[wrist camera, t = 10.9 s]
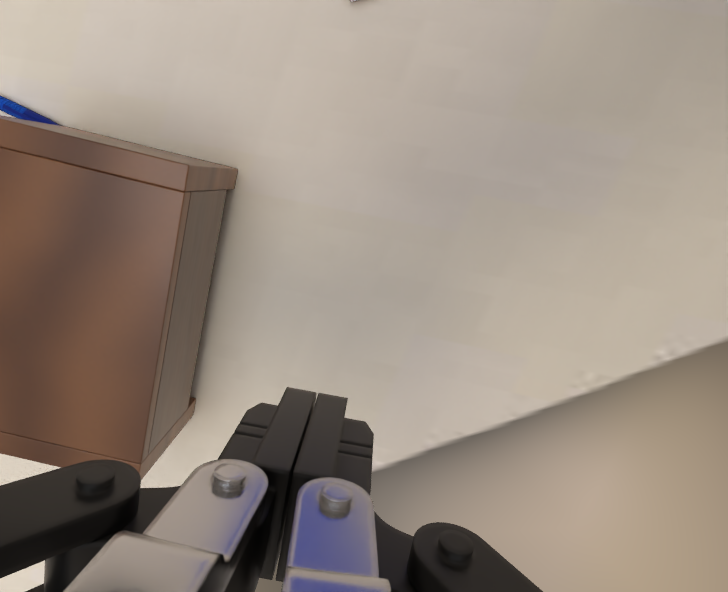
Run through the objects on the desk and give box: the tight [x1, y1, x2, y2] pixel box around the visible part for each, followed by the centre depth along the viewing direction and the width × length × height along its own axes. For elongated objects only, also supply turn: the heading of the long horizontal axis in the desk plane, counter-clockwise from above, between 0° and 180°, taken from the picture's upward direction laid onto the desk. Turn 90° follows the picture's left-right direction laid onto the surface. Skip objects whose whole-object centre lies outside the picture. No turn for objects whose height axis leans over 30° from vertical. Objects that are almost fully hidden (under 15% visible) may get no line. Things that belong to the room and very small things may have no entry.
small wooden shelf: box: [0, 115, 238, 480], centre depth 28 cm, size 10×16×8 cm, turn 166°
